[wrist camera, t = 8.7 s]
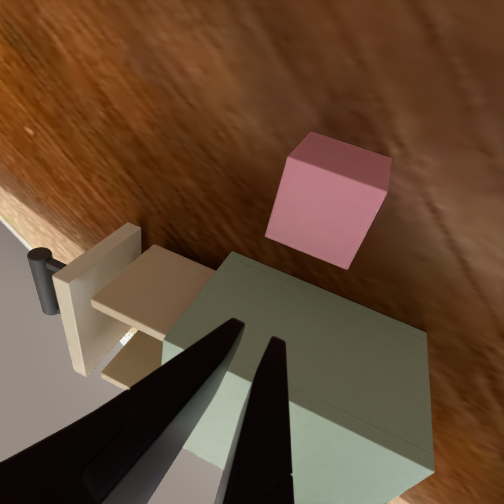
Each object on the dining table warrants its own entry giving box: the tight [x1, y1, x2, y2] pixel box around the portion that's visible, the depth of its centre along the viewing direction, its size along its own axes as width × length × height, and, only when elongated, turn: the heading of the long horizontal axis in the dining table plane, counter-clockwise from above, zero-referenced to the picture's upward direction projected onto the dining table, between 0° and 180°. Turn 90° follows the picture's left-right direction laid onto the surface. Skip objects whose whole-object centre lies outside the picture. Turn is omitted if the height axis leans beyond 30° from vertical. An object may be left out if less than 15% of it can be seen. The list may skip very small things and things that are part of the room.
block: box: [265, 131, 392, 270], centre depth 17 cm, size 4×4×4 cm
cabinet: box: [161, 251, 435, 504], centre depth 23 cm, size 14×12×9 cm
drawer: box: [27, 222, 216, 390], centre depth 25 cm, size 18×10×7 cm, turn 78°
